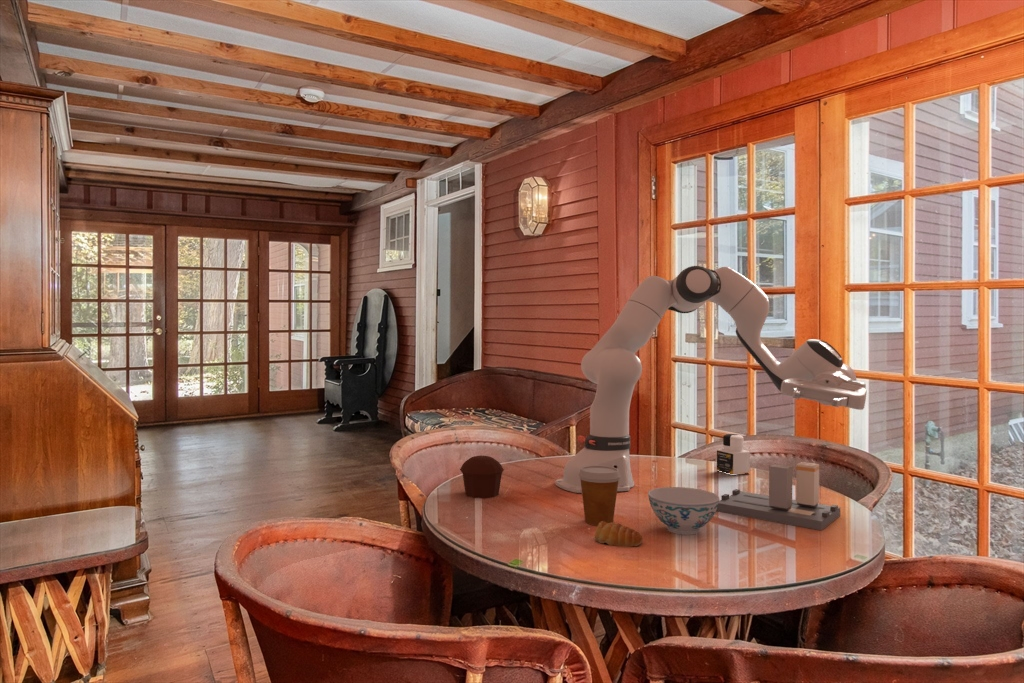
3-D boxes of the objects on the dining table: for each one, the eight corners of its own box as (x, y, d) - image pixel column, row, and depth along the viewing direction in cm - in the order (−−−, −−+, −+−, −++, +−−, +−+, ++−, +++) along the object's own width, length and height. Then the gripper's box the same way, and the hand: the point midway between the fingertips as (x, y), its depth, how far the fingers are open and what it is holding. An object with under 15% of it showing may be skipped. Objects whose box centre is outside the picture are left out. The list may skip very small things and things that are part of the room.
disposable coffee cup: (626, 520, 148) (626, 468, 148) (610, 530, 140) (611, 475, 139) (588, 514, 153) (588, 463, 153) (570, 523, 144) (571, 470, 144)
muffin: (510, 492, 174) (510, 455, 174) (492, 501, 164) (492, 462, 164) (471, 487, 179) (472, 451, 179) (451, 496, 169) (452, 458, 169)
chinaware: (670, 543, 131) (670, 505, 131) (635, 523, 145) (636, 488, 145) (733, 537, 135) (733, 501, 135) (694, 518, 150) (694, 485, 150)
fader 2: (795, 505, 153) (796, 464, 153) (801, 502, 156) (801, 461, 156) (814, 508, 150) (814, 466, 150) (819, 505, 153) (819, 464, 153)
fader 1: (768, 508, 150) (769, 466, 150) (774, 504, 153) (774, 463, 153) (786, 511, 148) (787, 468, 148) (792, 507, 151) (792, 466, 151)
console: (715, 510, 156) (715, 498, 156) (739, 498, 169) (739, 487, 169) (821, 530, 141) (822, 516, 141) (840, 515, 153) (840, 503, 153)
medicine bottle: (716, 471, 203) (716, 433, 203) (733, 469, 206) (733, 432, 206) (732, 476, 197) (733, 436, 197) (750, 474, 200) (750, 435, 200)
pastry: (646, 541, 133) (646, 523, 133) (636, 551, 127) (636, 532, 127) (602, 535, 137) (602, 517, 137) (591, 544, 131) (591, 525, 131)
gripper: (790, 369, 179) (774, 379, 168) (872, 384, 167) (861, 396, 156) (787, 391, 180) (771, 402, 170) (868, 407, 168) (857, 420, 157)
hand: (815, 399), depth 163 cm, fingers open, 8 cm apart
